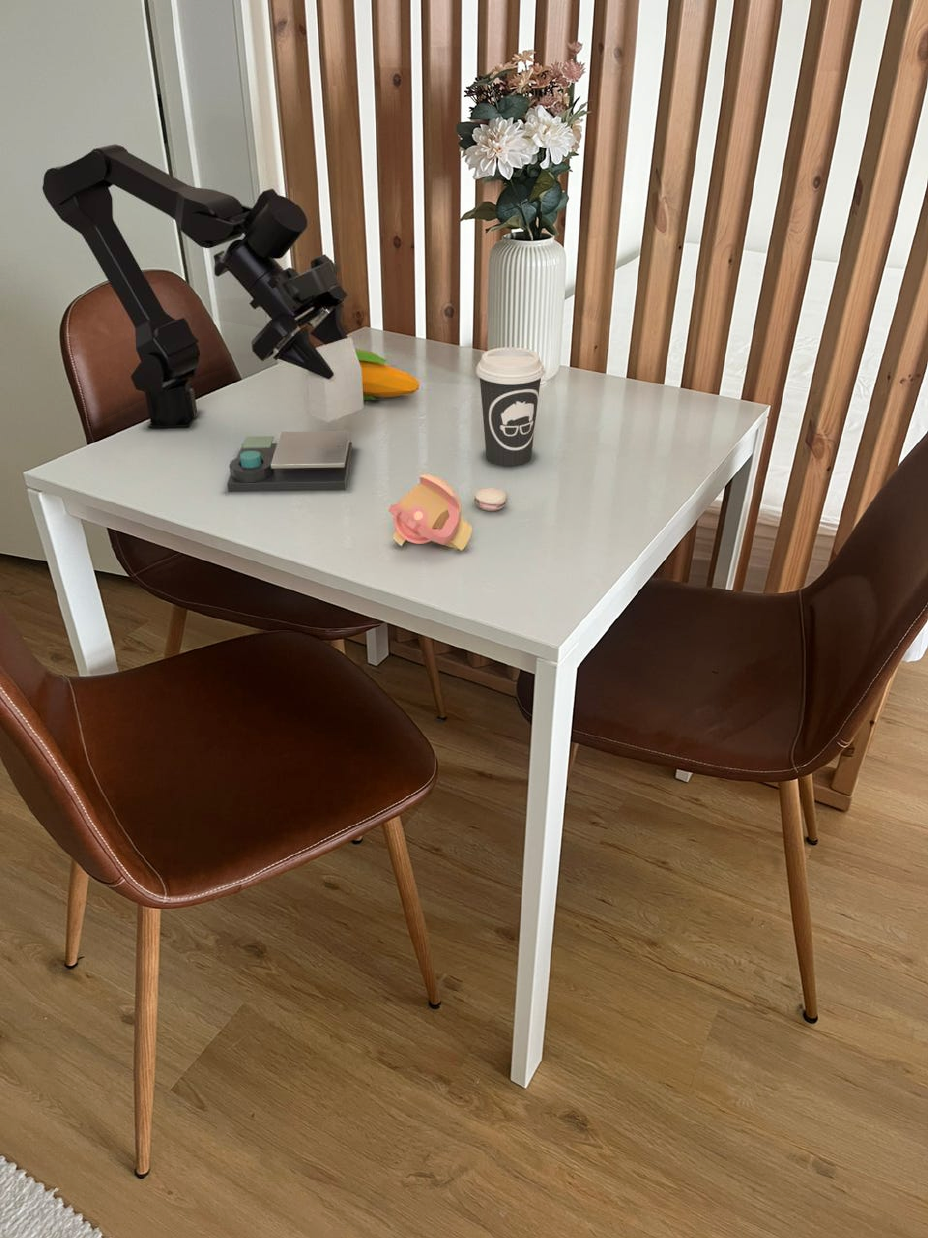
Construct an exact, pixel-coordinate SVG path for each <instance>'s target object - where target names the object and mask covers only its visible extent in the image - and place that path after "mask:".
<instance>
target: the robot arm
mask: <svg viewBox="0 0 928 1238" xmlns="http://www.w3.org/2000/svg"><path fill="white" fill-rule="evenodd" d="M42 181H43V183H42V192H43V195H44V197H45V199H46V200H47V202H48V204H49V205H50V207H51V208H52V209H53V211H54V212H55V213H56V215H57V217H58V218H60V220H61V221H62V222H63V223H65V224H66V225H68V226H69V227H70V228H72V229H73V230H75V231H76V232H78V233H79V234H80V235H81V236H82V237H83V239H84V240H85V243H86V244H87V245H88V247H89V249H90V251H91V253H92V254H93V257H94V258H95V261H97V264H98V265H99V267H100V269H101V270H102V272H103V274H104V276H105V277H106V279H107V280H108V282H109V284H110V286H111V288H112V290H113V291H114V293H115V295H116V296H117V298H118V300H119V301H120V303H121V305H122V307H123V309H124V311H125V312H126V314H127V316H128V317H129V319H130V322H131V323H132V325H133V326H134V329H135V332H134V333H135V334H134V335H135V350H136V353H137V355H138V357H139V359H140V362H139V364H138V365H137V367H136V368H135V369H134V371H133V373H132V374H130V379H131V381H132V383H133V386H134V387H135V389H136V391H141V392H144V396H145V400H146V401H145V402H146V406H147V411H148V415H149V416H148V417H149V421H148V423H147V428H148V429H187V428H190V427H191V425H192V423H193V422H194V420H195V419H196V417H197V415H198V407H197V401H196V393H195V389H193V388H191V387H190V385H191V384H190V379H191V378H195V377H196V376H197V370H198V365H199V363H200V356H202V355H201V351H200V350H201V349H200V347H199V345H198V343H199V339H198V338H197V337H196V336H195V335H194V334H193V332H192V330H191V328H190V325H189V323H188V321H187V320H186V319H185V318H184V317H180V318H178V319H175V318H174V317H173V316H171V315H170V314H168V313H167V311H165V309H164V308H163V305H162V304H161V302H160V301H159V299H158V297H157V295H156V293H155V292H154V290H153V288H152V287H151V284H150V282H149V281H148V279H147V277H146V275H145V273H144V272H143V270H142V268H141V267H140V265H139V263H138V261H137V259H136V258H135V256H134V254H133V253H132V250H131V248H130V246H129V245H128V243H127V242H126V239H125V238H124V237H123V235H122V233H121V231H120V229H119V227H118V225H117V224H116V222H115V219H114V199H113V195H112V193H111V191H110V188H111V187H114V186H115V187H117V188H118V189H120V190H122V191H124V192H126V193H128V194H129V195H131V196H133V197H135V198H137V199H138V200H140V201H142V202H144V203H145V204H147V205H149V206H151V207H152V208H155V209H157V210H158V211H160V212H161V213H164V214H165V215H168V216H169V217H170V218H171V219H173V220H174V221H175V223H176V225H177V227H178V229H179V230H180V232H181V233H182V234H184V235H185V236H186V237H187V238H189V239H190V240H191V241H193V242H194V244H197V245H198V246H199V247H200V248H203V249H212V248H215V247H217V246H220V245H223V244H225V243H228V242H231V241H232V242H231V243H230V244H229V246H228V247H227V248H226V250H221V251H219V252H217V253H214V255H213V261H214V266H213V272H214V273H213V274H214V276H215V277H220V276H222V275H224V274H225V273H227V272H229V273H230V274H231V275H232V276H233V278H235V280H236V281H237V282H238V283H239V284H240V285H241V286H242V287H243V289H244V290H245V291H246V293H248V294H249V295H250V297H251V298H252V299H251V301H250V302H249V305H250V307H252V309H253V310H256V309H259V307H260V308H261V309H262V310H263V311H264V312H265V313H266V315H267V316H268V317H269V318H270V320H269V321H268V322H267V323H266V324H265V326H264V327H262V329H261V330H260V331H259V332H258V333H257V334H256V336H254V338H253V339H251V342H250V343H251V349H252V350H251V351H252V352H253V353H254V354H255V356H256V357H257V358H258V359H259V360H260V361H261V362H264V361H266V360H268V358H270V357H272V356H273V355H274V353H275V350H276V351H277V353H276V354H275V355H274V356H273V357H272V359H274V360H275V361H278V360H281V361H283V362H285V363H289V364H291V365H294V366H297V367H298V368H302V369H304V370H306V371H307V372H308V371H310V372H313V373H315V374H317V375H319V376H322V377H324V378H326V379H331V378H332V377H333V376H334V373H333V371H332V370H331V368H330V367H329V365H328V364H327V363H326V361H325V360H324V359H323V357H322V356H321V355H320V353H319V352H318V351H317V350H316V348H317V347H315V345H314V344H313V343H312V341H311V338H310V335H311V336H312V337H314V338H315V339H317V341H319V342H321V343H322V344H323V345H326V344H330V343H333V342H336V341H339V340H342V339H345V338H349V337H348V334H347V332H346V330H345V328H344V325H343V322H342V311H343V308H344V302H343V301H345V300H346V298H347V297H348V296H349V295H348V293H347V292H346V290H344V289H343V287H342V286H341V285H340V281H339V279H338V277H337V275H338V271H339V266H338V265H337V264H335V263H334V261H333V260H332V259H330V258H329V257H328V256H327V255H326V254H325V253H324V254H321V255H319V256H317V257H315V258H314V259H312V260H310V268H309V269H307V270H305V271H303V272H302V273H298V272H297V271H296V270H295V268H294V267H293V268H291V267H287V268H285V269H284V268H283V266H281V264H280V263H279V262H278V261H277V260H279V259H282V258H284V256H285V255H286V254H287V253H288V251H289V250H290V249H291V248H292V247H293V246H294V244H295V243H296V242H297V240H298V239H299V238H300V237H301V236H302V235H303V233H304V232H305V231H306V229H307V227H308V218H307V216H306V213H305V212H304V210H303V208H302V207H301V205H299V204H296V203H295V202H294V201H293V200H291V199H289V198H288V197H286V196H283V195H279V194H278V193H277V191H276V190H275V189H274V188H269V189H266V190H263V191H262V192H261V193H260V195H259V196H258V197H257V200H256V202H255V204H254V205H253V206H252V207H250V206H247V205H244V204H242V203H241V202H240V201H239V199H237V198H236V197H235V196H234V195H231V194H227V193H225V192H222V191H218V190H215V189H211V188H202V187H196V186H192V185H189V184H187V183H185V182H184V181H182V180H180V179H179V178H176V177H175V176H172V175H170V174H169V173H167V172H165V171H163V170H161V169H159V168H158V167H156V166H154V165H152V164H151V163H148V162H147V161H145V160H143V159H141V158H139V157H138V156H136V155H134V154H132V153H130V152H129V151H128V150H127V148H125V147H124V146H122V145H119V144H115V143H114V144H110V145H106V146H101V147H96V148H93V149H91V151H90V152H89V151H88V152H87V154H85V155H84V156H82V157H80V158H78V159H76V160H75V161H72V162H70V163H67V164H63V165H59V166H55V167H51V168H49V169H47V170H46V171H45V173H44V176H43V180H42ZM242 235H244V236H243V237H242ZM241 237H242V239H239V238H241ZM308 325H309V326H311V327H313V329H312V331H311V332H310V331H309V326H308Z"/></svg>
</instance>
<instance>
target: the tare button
mask: <svg viewBox="0 0 928 1238" xmlns="http://www.w3.org/2000/svg"><path fill="white" fill-rule="evenodd" d="M240 461H241V467H243V468H255V467H259V466H261V465H262V462H261V455H260V453H259V452H257V451H246V452H243V453H241V454H240Z"/></svg>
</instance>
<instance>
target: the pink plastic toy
mask: <svg viewBox="0 0 928 1238" xmlns="http://www.w3.org/2000/svg"><path fill="white" fill-rule="evenodd" d="M462 510H463V507H462V503H461V500H460V498H459V496H458V494H457V493H456V491H455V490H454V489H453V487H452V485H450V484H449V483H448V482H446V481H445V480H444V479H442V478H441V477H438V476H436V475H434V474H429V473H426V474H425V473H424V474H421V475H419V483H418V484H417V485H415V486H414V487H413V488H412V489H411V490H410V491H408V492H407V493H406V494H405V495H404V496H403V497H402V498H401V499H400V500H399V501H398V502H396V503H394V504H393V503H392V504H390V506H389V507H388V513H390V514H391V515H392V516H393V517H392V518H393V519H392V520H393V525H394V528H395V530H394V532H393V534H392V538H393V540H394V541H395V542H396V543H397V544H398V546H401V547H402V546H403V545H404V543H405V542H406V541H407V542H410V543H413V544H417V545H421V544H427V543H430V542H433V543H436V544H439V545H441V546H446V547H449V548H453V549H457V550H459V551H461V552H463V551H464V549H465V547H466V546H467V544H468V542H469V540H470V538H471V536H472V532H473V528H474V527H473V526H472V525H470V524H469V522H467V521H466V519H464V518H463V516H462Z"/></svg>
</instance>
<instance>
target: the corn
mask: <svg viewBox="0 0 928 1238" xmlns="http://www.w3.org/2000/svg"><path fill="white" fill-rule="evenodd" d="M355 352H356V355H357V358H358V360H359V363H360V366H361V369H362V387H363V400H366V401H379V400H378V399H377V398H376V397H380V398H394V397H400V396H406V395H412V394H414V393H415V392H417V391H418V390H419V387H420V382H419V381H418V379H416V378H415V377H414V376H412V375H411V374H410V373H408V372H405V371H403V370H400V369H398V368H395V367H393V366H390V365H388V364H385V363H387V361H388V360H387V359H385V358H383V357H381V356H379V355H378V356H376V355H377V354H376V355H373V354H368V353H363V352H357V351H355Z"/></svg>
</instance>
